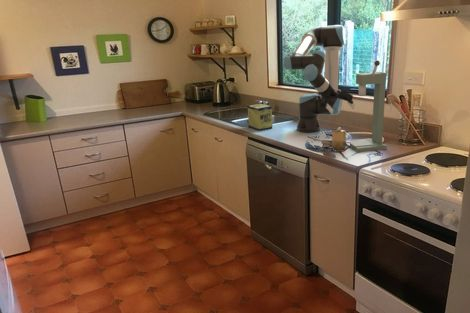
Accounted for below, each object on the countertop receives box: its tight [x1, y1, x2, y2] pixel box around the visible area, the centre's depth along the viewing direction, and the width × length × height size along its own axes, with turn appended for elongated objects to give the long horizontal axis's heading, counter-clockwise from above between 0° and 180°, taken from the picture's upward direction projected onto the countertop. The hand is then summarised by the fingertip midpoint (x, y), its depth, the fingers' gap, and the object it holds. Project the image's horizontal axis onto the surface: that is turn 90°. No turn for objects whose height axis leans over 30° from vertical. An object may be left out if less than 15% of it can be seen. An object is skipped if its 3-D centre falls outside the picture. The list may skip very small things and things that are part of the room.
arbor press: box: [349, 60, 388, 153], centre depth 194 cm, size 16×16×46 cm
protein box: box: [247, 103, 273, 132], centre depth 255 cm, size 10×16×16 cm
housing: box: [331, 127, 347, 152], centre depth 198 cm, size 7×7×12 cm
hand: (342, 109), depth 212 cm, fingers open, 13 cm apart
